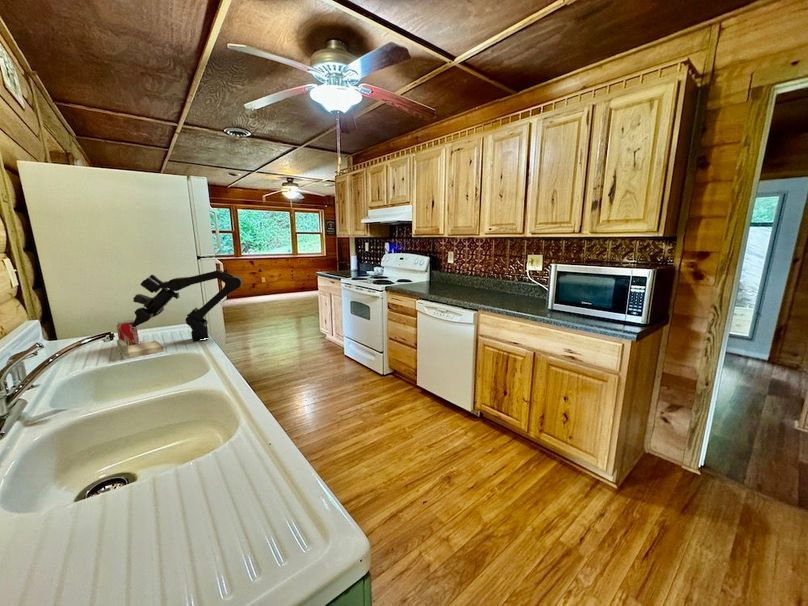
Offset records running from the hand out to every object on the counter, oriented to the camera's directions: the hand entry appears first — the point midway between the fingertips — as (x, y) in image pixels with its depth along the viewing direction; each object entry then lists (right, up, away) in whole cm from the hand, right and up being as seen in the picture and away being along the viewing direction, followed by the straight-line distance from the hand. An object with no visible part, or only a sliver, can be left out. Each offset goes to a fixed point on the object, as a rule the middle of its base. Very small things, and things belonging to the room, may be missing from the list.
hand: (136, 324), depth 153 cm
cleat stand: (+9, -12, -7) cm, 16 cm away
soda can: (-4, -11, +1) cm, 11 cm away
